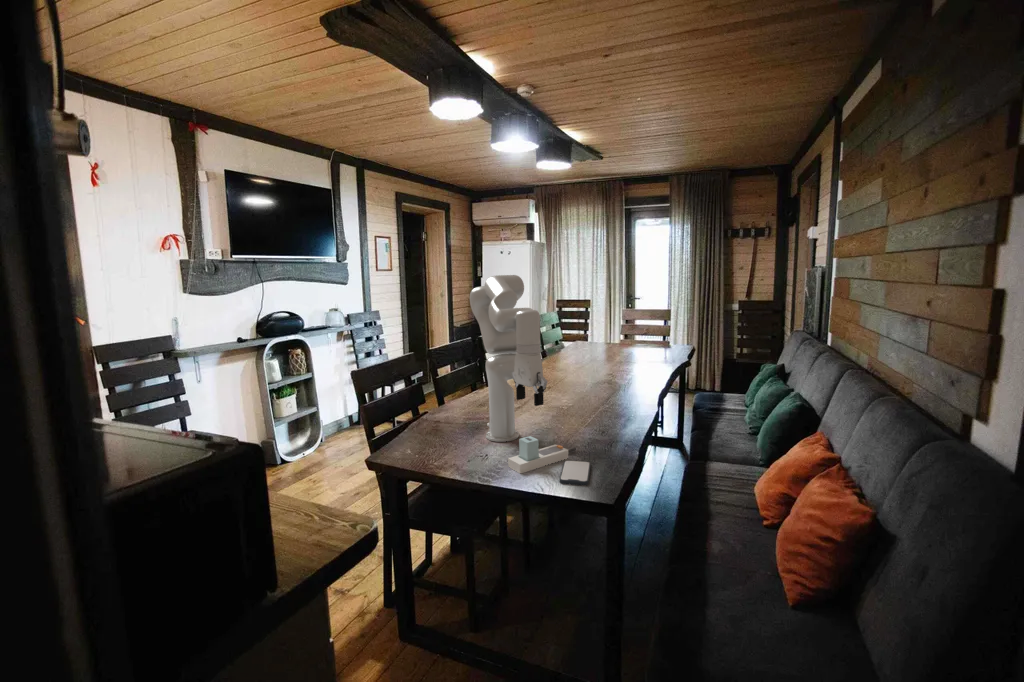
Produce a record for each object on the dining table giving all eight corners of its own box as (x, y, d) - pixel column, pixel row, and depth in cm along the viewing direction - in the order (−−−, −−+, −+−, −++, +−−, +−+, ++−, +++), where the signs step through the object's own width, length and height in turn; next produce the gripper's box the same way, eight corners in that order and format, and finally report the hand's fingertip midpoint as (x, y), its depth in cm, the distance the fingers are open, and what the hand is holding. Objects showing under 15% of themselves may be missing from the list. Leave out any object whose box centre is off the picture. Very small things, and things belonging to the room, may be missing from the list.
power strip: (508, 466, 162) (508, 456, 162) (569, 448, 177) (569, 438, 176) (519, 473, 157) (519, 462, 156) (581, 454, 171) (581, 444, 171)
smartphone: (564, 464, 165) (558, 484, 149) (564, 459, 165) (558, 479, 149) (591, 466, 163) (588, 487, 148) (591, 461, 163) (588, 482, 147)
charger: (519, 460, 163) (519, 438, 162) (530, 457, 166) (530, 435, 164) (527, 465, 160) (527, 442, 158) (538, 461, 162) (538, 439, 161)
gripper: (503, 347, 162) (505, 398, 164) (535, 353, 148) (536, 410, 150) (522, 345, 166) (523, 395, 168) (555, 351, 152) (556, 405, 154)
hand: (529, 402), depth 159 cm, fingers open, 9 cm apart
